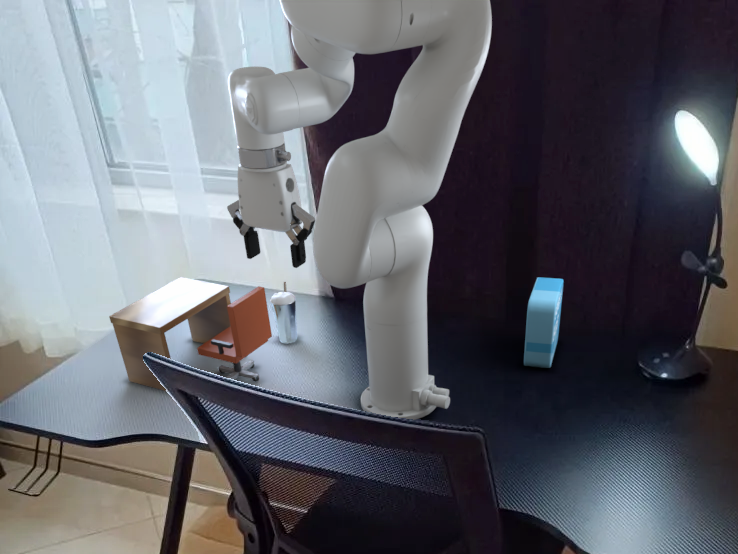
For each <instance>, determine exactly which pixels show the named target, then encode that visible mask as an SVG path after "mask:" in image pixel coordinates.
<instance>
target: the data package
mask: <svg viewBox="0 0 738 554" xmlns="http://www.w3.org/2000/svg"><path fill="white" fill-rule="evenodd" d="M564 283H565V282H564V279H563V278H554V277H540V276H539V277H536V279H535V282H534V284H533V287H532V291H531V293H530V295H529V299H528V303H527V309H526V310H527V311H526V325H525V338H524V339H525V340H524V353H523V366H525V367H533V368H544V369H551V367H552V365H553V364H552V363H553V360H554V357H555V353H556V349H557V345H558V341H559V333H560V324H561V313H562V302H563V292H564Z"/></svg>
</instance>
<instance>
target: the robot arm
mask: <svg viewBox="0 0 738 554" xmlns="http://www.w3.org/2000/svg"><path fill="white" fill-rule="evenodd" d="M278 1H279V4H280V8H281V11H282V12H283V15H284V17H285V18H286V20H287V22H288V23H289V24H290V25H291V27H290V28H291V33H290V36H291V41H292V45H293V48H294V50H295V52H296V55H297V56H298V58H299V59H300V60H301V62H302V63H303V64H305V66H307V67H306V68H298V69H293V70H288V71H283V72H279V73H275V72H274V70H272V69H271V68H269V67H266V66H244V67H238V68H236V69H233V70H232V71H230V73H229V75H228V78H227V86H228V93H229V100H230V107H231V113H232V119H233V127H234V133H235V140H236V146H237V153H238V158H239V159H238V160H239V164H238V165H237V194H238V195H237V197H238V200H236V201H234V202H232V203H230V204H229V205H227V207H226V209H227V211H228V213H229V215H230V217H231V218H232V222H233V224H234V225H235V226H236V227H237V228H238V230H239V231H238V232H239V234H240V236H242V237H243V242H244V248H245V254H246V259H248V260H252V259H253V258H255V257H257V256H258V255H260V254H261V245H260V239H259V233H258V230H255V229H262V230H267V231H271V232H272V231H273V232H277V233H285V234H286V236H287V237H288V238H289V240H290V242H291V244H290V257H291V264H292V265H291V266H292V267H293V268H295V269H297V268H299V267H301V266H302V265H304V264H305V263H306V260H307V255H306V253H307V252H306V244H305V241H306V240H307V239H308V237H310V235H311V234H312V233H313V238H312V250H313V251H312V252H313V258H314V262H315V267H316V269H317V271H318V273H319V275H320V277H321V278H322V279H323V280H324V281H325V283H327V284H328V285H330V286H331V287H334V288H337V289H351V288H354V287H358V286H361V285H364V284H365V286H364V290H363V291H364V292H363V301H362V304H363V305H362V306H363V307H362V308H363V319H364V332H365V346H366V347H365V349H366V359H367V361H366V363H367V375H368V387H366V388H365V389H364V390H363V391H362V392H361V395H360V407H361V409H362V410H363V412H365V411H367V412H372V413H376V414H381V415H386V416H391V417H398V418H406V419H413V420H412V421H415V420H416V421H417V420H419V419H422V418H424V417H426V416H428V415H430V414H431V413H432V412H433V411H434V410H435V409H436V408H441V409H446V410H447V409H448V408H449V406H450V404H451V397H450V389H448V388H443V387H437V385H436V384H435V375H432V374H429V345H428V344H429V343H428V341H429V340H428V339H429V338H428V279H429V278H428V276H429V269H430V262H431V257H432V253H433V244H434V229H433V228H434V227H433V223H432V219H431V217H430V215H429V212H428V211H427V209H426V208H425V207H424V205H425V204H428V203H429V202H431V200H433V199H434V198H435V197H436V195H437V194H438V192H439V189H440V187H441V185H442V182H443V179H444V176H445V173H446V171H447V168H448V166H449V165H448V164H449V162H450V158H451V155H452V152H453V149H454V147H455V143H456V141H457V139H458V135H459V131H460V128H461V124H462V120H463V118H464V116H465V113H466V110H467V107H468V105H469V102H470V100H471V97H472V96H473V93H474V91H475V89H476V86H477V84H478V81H479V79H480V77H481V75H482V72H483V69H484V66H485V64H486V60H487V57H488V55H489V49H490V45H491V38H492V29H493V28H492V26H493V21H492V20H493V18H492V17H493V15H492V5H491V0H278ZM420 46H422V49H421V51H420V53H419V54H418V56H417V57H416V59H415V60H414V61H413V63H412V64H411V66H410V67H409V68H408V69H407V71H406V72H405V74H404V76H403V77H402V79H401V81H400V83H399V85H398V88H397V90H396V93H395V95H394V99H393V105H392V108H391V113H390V115H389V119H388V121H387V124H386V126H385V127H384V128H383V129H382V130H381V131H379V132H378V133H376V134H373V135H368V136H366V137H361V138H357V139H354V140H351V141H349V142H346V143H344V144H343V145H341V146H339V148H337V149H336V150H335V152H334V153H333V154H332V156H330V158H329V160H328V162H327V165H326V167H325V171H324V174H323V175H324V176H323V181H322V186H321V192H320V197H319V201H318V202H319V203H318V207H317V213H316V217H314V216H313V215H312V214H311V213H309V212H307V211H306V210H305V209H303V207H302V202H301V201H302V200H301V197H300V190H299V187H298V181H297V179H296V178H297V177H296V175H295V172H294V169H293V166H292V164H290V163H288V162H290V161H291V159H292V153H291V152H290V151H287V150H286V143H285V136H284V135H285V134H284V133H286V132H290V131H293V130H295V129H296V130H297V129H300V128H306V127H309V126H314V125H315V126H316V125H319V124H322V123H325V122H327V121H328V120H330V119H332V118H333V117H334V115H336V114H337V113H338V111H339V110H340V109H341V108H342V107H343V105H344V104H345V103H346V101H347V100H348V99H349V97H350V95H351V94H352V91H353V88H354V84H355V83H354V82H355V62H354V59H353V57H354V56H355V55H356V54H361V55H377V54H383V53H389V52H393V51H399V50H405V49H411V48H416V47H420ZM302 224H303V225H302ZM301 225H302V226H301ZM313 228H314V230H313Z"/></svg>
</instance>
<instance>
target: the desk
mask: <svg viewBox="0 0 738 554" xmlns="http://www.w3.org/2000/svg"><path fill="white" fill-rule="evenodd" d="M230 294H231V289H230V286H229V285H225V284H220V283H214V282H208V281H203V280H198V279H193V278H189V277H183V276H180V277H178V278H176V279H174V280H172V281H170V282H169V283H167V284H165V285H163V286H162V287H160V288H158V289H156V290H154V291H152V292H150V293H148V294H147V295H145V296H143V297H142V298H139V299H138V300H136V301H134V302H132V303H131V304H129V305H126V306H125V307H124V308H122V309H120V310H118V311H116V312H114V313H112V314H111V315H109V317H108V318H109V321H110V323H111V324H112V327H113V329H114V330H113V331H114V333H115V338H116V340H117V344H118V347H119V351H120V354H121V357H122V361H123V365H124V367H125V372H126V374H127V375H126V376H127V377H128V381H129V382H131V383H133V384H134V383H135V384H138V385H141V386H146V387H149V388H153V389H157V390H161V391H164V392H167V391H166V389H165V388H164V387H163V386H162V385H161V384H160V382H159V381H158V380H157V378H156V377H155V376H154V375H153V373H152V372H151V371H150V370H149V368H148V367H147V366H146V364H145V363H144V361H143V355H144V354H145V353H147V352H153V353H156V354H159V355H162V356H165V357H167V358H170V359H171V360H172V358H171V354H170V350H169V345H168V342H167V338H166V334H165V333H166V332H168V331H170V330H172V329H174V328H175V327H177V326H178V325H180V324H181V323H183V322H184V321H186V320H187V323H188V326H189V330H190V331H189V332H190V336H191V340H192V342H196V343H201V344H204V343H206V342H207V341H209V340H210V339H212V338H213V337H215V336H216V335H218V334H219V333H221V332H222V331H224V330H225V329H227V328H228V327H231V325H230V320H229V315H228V310H227V306H228V305H230V304H231V303H232V301H231V296H230Z"/></svg>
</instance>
